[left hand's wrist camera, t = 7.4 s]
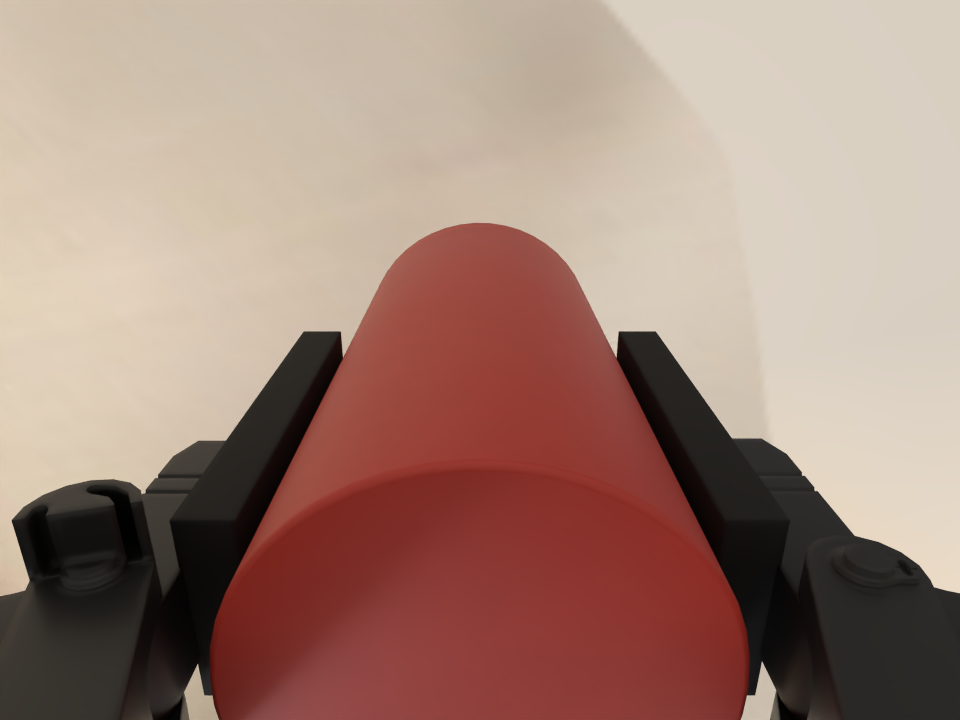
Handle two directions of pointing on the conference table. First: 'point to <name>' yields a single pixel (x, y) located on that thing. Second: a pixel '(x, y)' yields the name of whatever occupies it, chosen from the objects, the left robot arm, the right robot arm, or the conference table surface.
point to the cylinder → (479, 522)
